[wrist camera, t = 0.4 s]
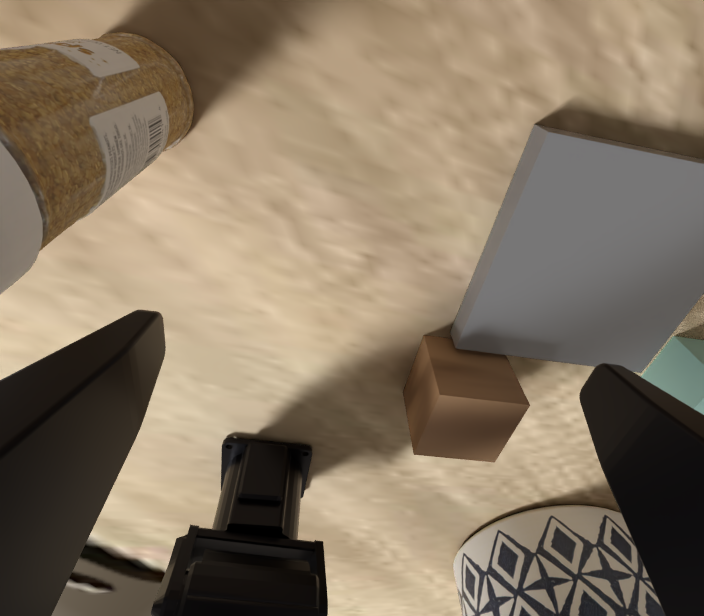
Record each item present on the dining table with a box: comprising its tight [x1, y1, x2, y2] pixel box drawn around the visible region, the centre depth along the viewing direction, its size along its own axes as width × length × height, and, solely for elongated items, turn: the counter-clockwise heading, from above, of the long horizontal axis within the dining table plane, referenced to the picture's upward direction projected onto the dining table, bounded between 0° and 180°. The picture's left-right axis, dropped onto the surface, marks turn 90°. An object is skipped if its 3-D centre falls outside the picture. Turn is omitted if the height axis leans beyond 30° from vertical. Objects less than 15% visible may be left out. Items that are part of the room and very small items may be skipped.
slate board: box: [450, 124, 704, 373], centre depth 22 cm, size 12×12×2 cm
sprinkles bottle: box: [0, 32, 194, 294], centre depth 12 cm, size 5×5×13 cm
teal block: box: [641, 336, 704, 415], centre depth 26 cm, size 4×4×4 cm
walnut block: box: [403, 335, 530, 462], centre depth 25 cm, size 5×5×5 cm
